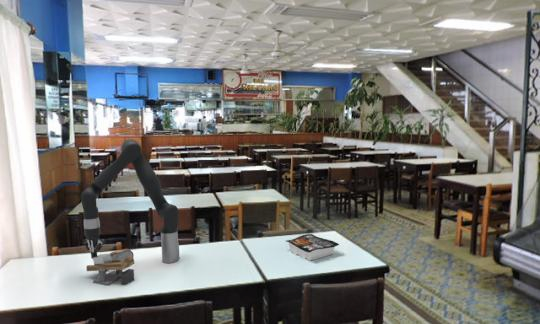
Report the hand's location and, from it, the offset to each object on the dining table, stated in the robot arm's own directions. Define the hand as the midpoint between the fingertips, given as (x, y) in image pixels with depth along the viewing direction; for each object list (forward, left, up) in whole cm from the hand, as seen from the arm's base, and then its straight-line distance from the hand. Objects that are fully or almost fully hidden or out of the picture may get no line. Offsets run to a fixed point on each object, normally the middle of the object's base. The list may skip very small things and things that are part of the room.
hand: (94, 258), depth 200 cm
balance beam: (0, +11, -3) cm, 12 cm away
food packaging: (-73, +96, -10) cm, 121 cm away
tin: (-16, +2, -10) cm, 19 cm away
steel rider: (0, +6, -3) cm, 7 cm away
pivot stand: (0, +15, -9) cm, 18 cm away
